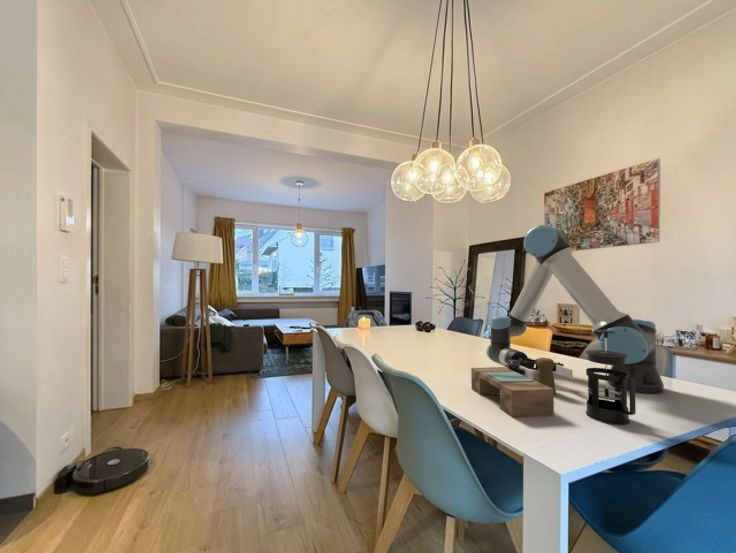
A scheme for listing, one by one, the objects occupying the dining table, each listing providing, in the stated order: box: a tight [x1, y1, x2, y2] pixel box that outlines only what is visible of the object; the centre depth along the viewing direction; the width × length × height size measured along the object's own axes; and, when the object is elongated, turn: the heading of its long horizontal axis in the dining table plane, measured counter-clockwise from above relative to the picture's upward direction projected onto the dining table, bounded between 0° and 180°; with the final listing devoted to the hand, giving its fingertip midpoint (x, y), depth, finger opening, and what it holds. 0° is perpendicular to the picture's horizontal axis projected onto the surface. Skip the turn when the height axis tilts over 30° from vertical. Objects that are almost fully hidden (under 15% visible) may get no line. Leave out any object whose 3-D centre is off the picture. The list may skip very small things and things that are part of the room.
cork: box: [536, 357, 557, 395], centre depth 107 cm, size 6×6×11 cm
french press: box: [585, 330, 637, 426], centre depth 86 cm, size 12×9×23 cm
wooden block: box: [470, 366, 555, 418], centre depth 99 cm, size 24×12×7 cm, turn 8°
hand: (552, 374), depth 104 cm, fingers open, 13 cm apart
